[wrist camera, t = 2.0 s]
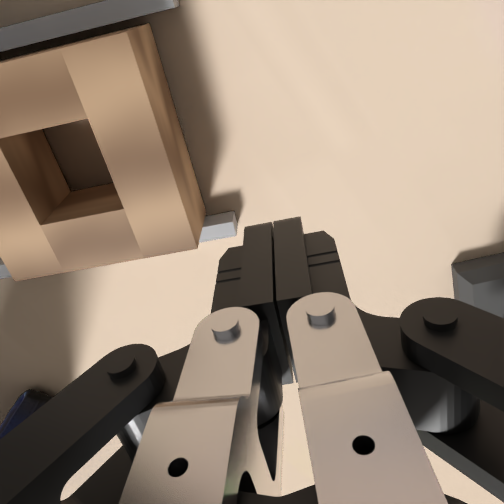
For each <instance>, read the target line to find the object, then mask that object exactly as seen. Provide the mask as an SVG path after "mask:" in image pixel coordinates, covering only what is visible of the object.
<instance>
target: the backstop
mask: <svg viewBox="0 0 504 504" xmlns="http://www.w3.org/2000/svg"><path fill="white" fill-rule="evenodd" d="M178 6H180V5H179V2H178V0H105V1H101V2H98V3H94V4H90V5H86V6H82V7H78V8H75V9H71V10H67V11H63V12H59V13H55V14H52V15H48V16H44V17H40V18H36V19H33V20H29V21H25V22H21V23H17V24H13V25H10V26H6V27H2V28H0V52H2V51H6V50H10V49H13V48H17V47H21V46H25V45H29V44H33V43H37V42H41V41H45V40H49V39H53V38H57V37H61V36H65V35H69V34H73V33H77V32H80V31H84V30H88V29H92V28H96V27H100V26H104V25H108V24H112V23H116V22H120V21H124V20H128V19H132V18H136V17H140V16H143V15H147V14H151V13H155V12H159V11H163V10H167V9H171V8H175V7H178ZM237 226H238V224H237V220H236V216H235V213H234V211H231V212H226V213H221V214H216V215H210V216H205V219H204V223H203V227H202V231H201V236H200V240H199V243H200V242H205V241H211V240H216V239H222V238H227V237H233V236H236V235H237ZM8 277H12V276H11V274H10V272H9V271H8V269H7V267H6V266H5V264H4V262H3V261H2V259H1V257H0V279H3V278H8Z"/></svg>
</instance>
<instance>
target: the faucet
mask: <svg viewBox="0 0 504 504" xmlns="http://www.w3.org/2000/svg"><path fill="white" fill-rule="evenodd" d="M451 266H452V277H453V287H454V298H455V300H459V301H462V302H464V303H467V304H469V305H472V306H474V307H477V308H479V309H482V310H484V311H487V312H489V313H492V314H494V315H497V316H499V317H502V318H504V252H503V253H499V254H494V255H490V256H485V257H481V258H477V259H472V260H468V261H463V262H459V263H455V264H451Z"/></svg>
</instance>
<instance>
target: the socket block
mask: <svg viewBox="0 0 504 504" xmlns="http://www.w3.org/2000/svg"><path fill="white" fill-rule="evenodd" d="M84 119H88V120H89V123H90V125H91V128H92V130H93V133H94V135H95V138H96V140H97V143H98V145H99V148H100V150H101V153H102V155H103V158H104V160H105V163H106V165H107V168H108V170H109V173H110V175H111V178H112V180H113V183H111V184H106V185H101V186H96V187H91V188H87V189H82V190H77V191H72V192H70V190H69V187H68V185H67V183H66V181H65V179H64V177H63V174H62V172H61V170H60V168H59V166H58V163H57V161H56V159H55V157H54V155H53V152H52V150H51V148H50V146H49V144H48V142H47V139H46V137H45V135H44V133H43V131H42V129H44V128H49V127H53V126H57V125H62V124H66V123H71V122H75V121H79V120H84ZM205 215H206V210H205V207H204V203H203V200H202V197H201V193H200V190H199V187H198V183H197V180H196V177H195V174H194V170H193V167H192V164H191V160H190V157H189V154H188V150H187V147H186V144H185V140H184V137H183V134H182V130H181V127H180V124H179V120H178V117H177V114H176V110H175V107H174V104H173V100H172V97H171V94H170V90H169V87H168V84H167V80H166V77H165V74H164V70H163V67H162V64H161V60H160V57H159V54H158V50H157V47H156V44H155V40H154V37H153V34H152V30H151V27H150V24H149V23H147V24H143V25H139V26H135V27H131V28H127V29H123V30H119V31H115V32H111V33H107V34H103V35H99V36H95V37H91V38H87V39H83V40H79V41H75V42H71V43H67V44H63V45H59V46H55V47H51V48H47V49H44V50H40V51H36V52H32V53H28V54H24V55H20V56H16V57H12V58H8V59H4V60H0V257H1V259H2V261H3V262H4V264H5V266H6V267H7V269H8V271H9V272H10V274H11V276H12V278H13V279H14V281H15V282H16V281H21V280H27V279H32V278H38V277H43V276H49V275H54V274H60V273H65V272H71V271H76V270H82V269H88V268H93V267H99V266H104V265H110V264H115V263H121V262H126V261H132V260H137V259H143V258H148V257H154V256H159V255H165V254H171V253H176V252H182V251H187V250H193V249H197V248H198V244H199V240H200V236H201V231H202V227H203V223H204V219H205Z"/></svg>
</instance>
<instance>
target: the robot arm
mask: <svg viewBox="0 0 504 504" xmlns="http://www.w3.org/2000/svg"><path fill="white" fill-rule="evenodd" d="M273 224H274V228H273ZM273 224H272V222H268V223H263V224H258V225H253V226H247V227H245V229H244V241H243V246H238V247H232V248H228V250H227V251H226V252H225V253H224V255H223V256H222V257H221V259H220V260H219V266H218V274H217V278H216V285H215V291H214V297H213V303H212V309H211V314H210V315H208V316H207V317H205V318H204V319H203V320H202V321H201V322H200V323H199V324H198V325H197V327H196V328H195V331H194V334H193V337H192V340H191V344H189V345H187V346H185V347H183V348H181V349H179V350H176V351H174V352H171V353H169V354H166V355H164V356H161V357H159V358H158V357H157V354H156V352H155V350H154V349H153V348H151V347H150V346H148V345H144V344H131V345H127V346H123V347H120V348H118V349H116V350H114V351H112V352H110V353H109V354H107V355H106V356H104V357H103V358H102V359H101V360H99V361H98V362H97V363H96V364H94V365H93V366H92V367H91V368H89V369H88V370H87V371H86V372H84V373H83V374H82V375H80V376H79V377H78V378H77V379H75V380H74V381H73V382H72V383H70V384H69V385H68V386H67V387H65V388H64V389H63V390H62V391H60V392H59V393H58V394H57V395H55V396H54V397H53V398H52V399H50V400H49V401H48V402H47V403H45V404H44V405H43V406H41V407H40V408H39V409H38V410H36V411H35V412H34V413H33V414H31V415H30V416H29V417H28V418H26V419H25V420H24V421H23V422H21V423H20V424H19V425H18V426H16V427H15V428H14V429H13V430H11V431H10V432H9V433H8V434H6V435H5V436H4V437H3V438H1V439H0V504H467V503H465V502H463V501H461V500H459V499H456V498H453V497H451V496H448V495H445V494H444V493H443V491H442V489H441V486H440V484H439V482H438V479H437V477H436V475H435V473H434V470H433V468H432V466H431V463H430V461H429V459H428V456H427V454H426V452H425V449H424V447H423V446H425V447H426V448H428V449H429V450H430V451H432V452H433V453H435V454H436V455H438V456H439V457H440V458H442V459H443V460H445V461H446V462H447V463H449V464H450V465H452V466H453V467H454V468H456V469H457V470H459V471H460V472H462V473H463V474H464V475H466V476H467V477H469V478H470V479H471V480H473V481H474V482H476V483H477V484H478V485H480V486H481V487H483V488H484V489H486V490H487V491H488V492H490V493H491V494H493V495H494V496H495V497H497V498H498V499H500V500H501V501H503V502H504V318H502V317H499V316H497V315H494V314H492V313H489V312H487V311H484V310H482V309H479V308H477V307H474V306H472V305H469V304H467V303H464V302H462V301H459V300H455V299H451V298H441V297H435V298H427V299H422V300H419V301H416V302H414V303H412V304H411V305H409V306H408V307H407V308H406V309H404V311H403V312H402V314H401V316H400V318H393V317H381V316H376V315H372V314H369V313H366V312H364V311H362V310H360V309H359V308H357V307H356V306H355V305H354V303H353V302H352V301H351V299H350V296H349V292H348V288H347V285H346V281H345V277H344V274H343V270H342V266H341V263H340V259H339V255H338V252H337V248H336V244H335V241H334V239H333V238H332V237H331V236H330V235H328V234H327V233H326V232H324V231H319V232H314V233H308V234H304V233H303V227H302V222H301V217H295V218H289V219H284V220H279V221H274V222H273ZM292 367H293V371H294V375H295V379H296V383H297V382H298V385H299V388H298V392H299V398H300V404H301V409H302V415H303V420H304V426H305V431H306V437H307V442H308V448H309V453H310V459H311V464H312V470H313V475H314V481H315V485H312V486H309V487H307V488H304V489H301V490H299V491H296V492H293V493H291V494H288V495H285V496H281V480H282V458H283V435H284V410H283V406H282V399H283V394H282V385H284V384H291V383H293V372H292ZM116 434H117V436H118V438H119V439H120V441H121V443H122V445H123V446H122V447H121V448H120V449H119V450H118V451H117V452H115V453H114V454H113V455H112V456H111V457H110V458H109V459H108V460H107V461H106V462H105V463H104V464H103V465H102V466H101V467H100V468H99V469H98V470H97V471H96V472H95V473H94V474H93V475H92V476H91V477H90V478H89V479H88V480H87V481H86V482H84V483H83V484H82V485H81V486H80V487H79V488H78V489H77V490H76V491H75V492H74V493H73V494H72V495H71V496H70V497H68V498H67V499H65V500H62V501H60V497H61V492H62V490H63V487H64V486H65V484H66V482H67V481H68V480H69V479H70V478H71V477H72V476H73V475H74V474H75V473H76V472H77V471H78V470H79V469H80V468H81V467H82V466H83V465H84V464H85V463H86V462H88V461H89V460H90V459H91V458H92V457H93V456H94V455H95V454H96V453H97V452H98V451H99V450H100V449H101V448H102V447H104V446H105V445H106V444H107V443H108V442H109V441H110V440H111V439H112V438H113V437H114V436H115V435H116Z"/></svg>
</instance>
